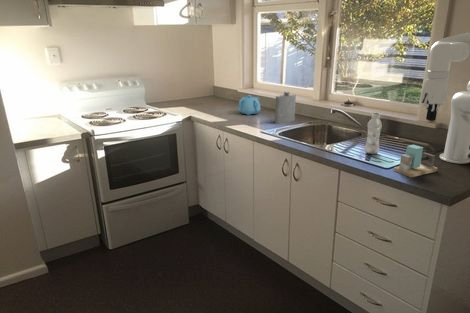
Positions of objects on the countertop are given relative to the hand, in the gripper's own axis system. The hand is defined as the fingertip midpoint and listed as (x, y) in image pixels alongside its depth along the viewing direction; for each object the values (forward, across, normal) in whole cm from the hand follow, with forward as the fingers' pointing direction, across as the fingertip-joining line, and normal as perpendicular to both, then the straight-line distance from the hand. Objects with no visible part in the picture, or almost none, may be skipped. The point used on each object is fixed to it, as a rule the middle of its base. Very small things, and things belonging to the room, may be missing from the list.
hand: (430, 120), depth 153 cm
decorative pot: (+22, +14, -135) cm, 137 cm away
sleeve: (+19, +7, 0) cm, 21 cm away
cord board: (+22, +5, 0) cm, 22 cm away
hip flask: (+22, +5, -101) cm, 103 cm away
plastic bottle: (+22, +4, -26) cm, 34 cm away
